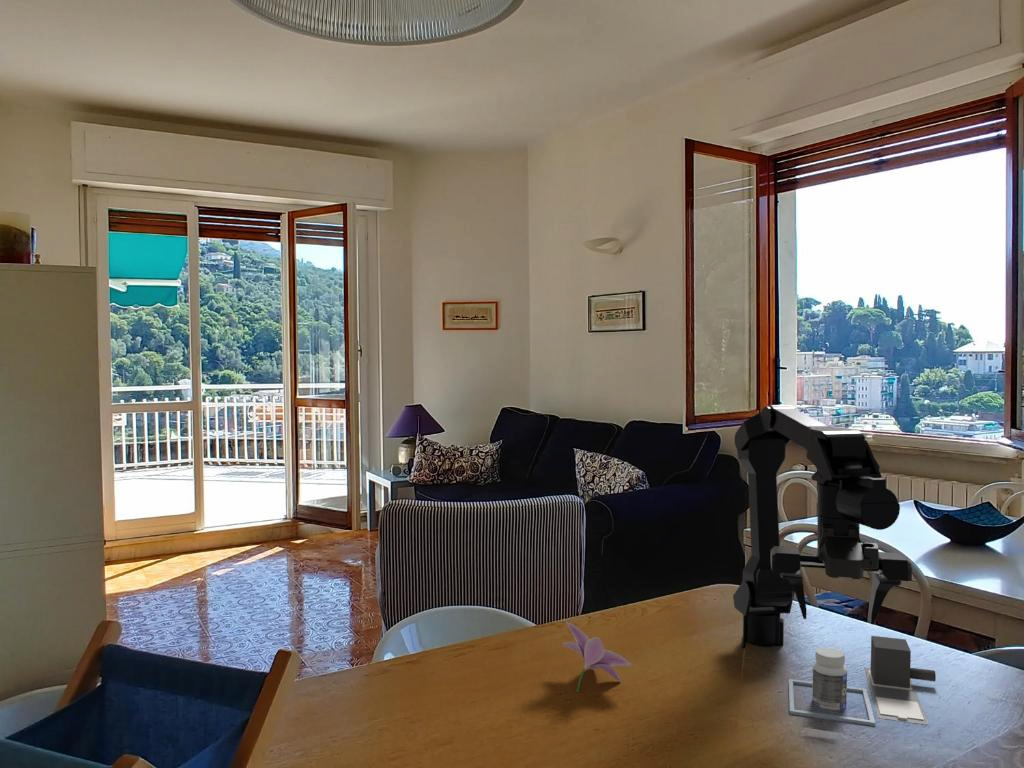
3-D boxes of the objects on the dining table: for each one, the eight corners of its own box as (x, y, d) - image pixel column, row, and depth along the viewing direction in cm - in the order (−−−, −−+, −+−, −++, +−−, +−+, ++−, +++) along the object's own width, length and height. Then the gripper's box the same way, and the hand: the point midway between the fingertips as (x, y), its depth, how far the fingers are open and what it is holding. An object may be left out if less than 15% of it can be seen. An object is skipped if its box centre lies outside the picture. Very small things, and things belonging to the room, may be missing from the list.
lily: (634, 708, 118) (647, 643, 121) (567, 686, 115) (582, 621, 118) (598, 700, 129) (611, 641, 132) (535, 680, 126) (550, 620, 129)
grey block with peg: (874, 684, 121) (875, 647, 121) (870, 672, 126) (871, 635, 126) (937, 692, 118) (938, 654, 118) (931, 679, 123) (932, 642, 123)
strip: (877, 723, 111) (877, 715, 111) (864, 672, 128) (864, 666, 128) (928, 730, 108) (929, 722, 108) (908, 677, 126) (908, 671, 125)
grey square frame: (789, 718, 112) (789, 710, 112) (788, 686, 123) (788, 678, 122) (875, 731, 108) (875, 722, 108) (866, 696, 119) (866, 689, 119)
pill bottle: (849, 716, 113) (850, 659, 112) (815, 713, 114) (816, 657, 113) (842, 701, 117) (843, 647, 117) (809, 699, 118) (810, 644, 118)
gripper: (774, 523, 109) (773, 633, 109) (921, 530, 104) (920, 646, 104) (770, 508, 120) (770, 609, 120) (903, 514, 115) (903, 619, 115)
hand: (837, 620), depth 115 cm, fingers open, 9 cm apart
